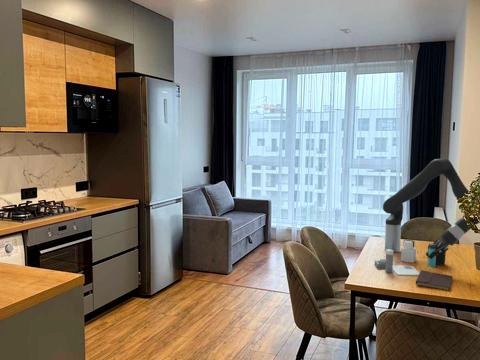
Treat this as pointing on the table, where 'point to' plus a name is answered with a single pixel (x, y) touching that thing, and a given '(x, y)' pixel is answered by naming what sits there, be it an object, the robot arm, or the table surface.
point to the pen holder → (440, 258)
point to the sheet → (405, 270)
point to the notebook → (434, 280)
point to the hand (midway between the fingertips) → (428, 256)
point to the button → (382, 260)
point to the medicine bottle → (408, 251)
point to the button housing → (380, 265)
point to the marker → (433, 261)
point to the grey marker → (389, 261)
